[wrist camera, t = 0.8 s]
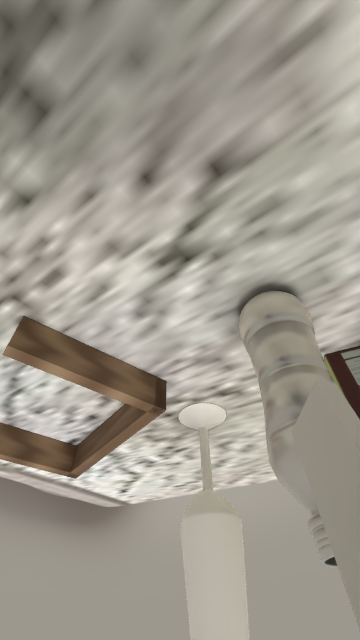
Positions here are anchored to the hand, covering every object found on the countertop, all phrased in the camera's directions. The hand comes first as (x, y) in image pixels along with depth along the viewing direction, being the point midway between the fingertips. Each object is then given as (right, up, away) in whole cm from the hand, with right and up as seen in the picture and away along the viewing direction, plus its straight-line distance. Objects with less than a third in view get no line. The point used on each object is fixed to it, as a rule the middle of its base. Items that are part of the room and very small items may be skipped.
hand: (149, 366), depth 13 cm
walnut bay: (-15, -8, +27) cm, 32 cm away
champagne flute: (+4, -12, +31) cm, 33 cm away
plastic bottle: (+10, +3, +18) cm, 21 cm away
